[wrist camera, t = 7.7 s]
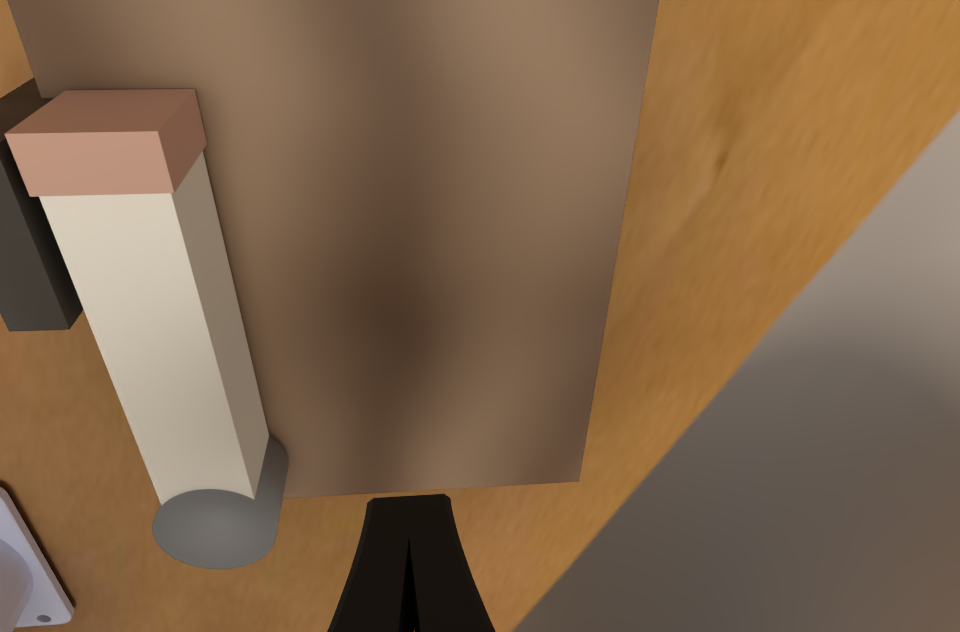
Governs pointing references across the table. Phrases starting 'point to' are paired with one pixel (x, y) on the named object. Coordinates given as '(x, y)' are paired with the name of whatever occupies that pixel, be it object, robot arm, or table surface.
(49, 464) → the table surface
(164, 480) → the folding leg
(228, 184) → the stool seat
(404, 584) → the robot arm
